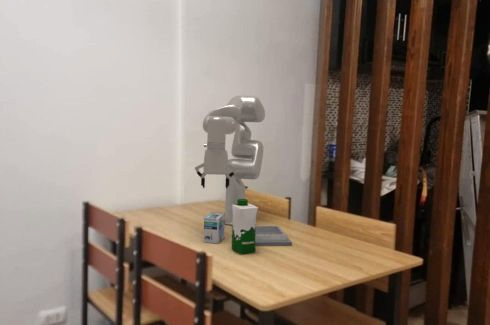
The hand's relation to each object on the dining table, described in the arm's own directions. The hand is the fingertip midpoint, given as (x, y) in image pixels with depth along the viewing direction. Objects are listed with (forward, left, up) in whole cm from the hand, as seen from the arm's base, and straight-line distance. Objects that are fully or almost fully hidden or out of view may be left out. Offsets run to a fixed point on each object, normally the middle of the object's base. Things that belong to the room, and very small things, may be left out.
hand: (215, 187), depth 181 cm
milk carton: (+15, +11, -23) cm, 29 cm away
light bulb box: (0, 0, -23) cm, 23 cm away
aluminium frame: (0, +22, -21) cm, 30 cm away
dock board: (0, +22, -23) cm, 32 cm away
